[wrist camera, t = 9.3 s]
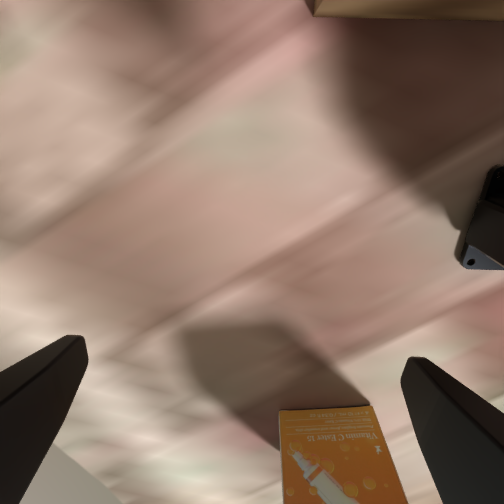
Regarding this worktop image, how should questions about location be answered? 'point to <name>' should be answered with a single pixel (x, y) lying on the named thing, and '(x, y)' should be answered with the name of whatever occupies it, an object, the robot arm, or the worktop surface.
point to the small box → (336, 458)
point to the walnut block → (412, 9)
